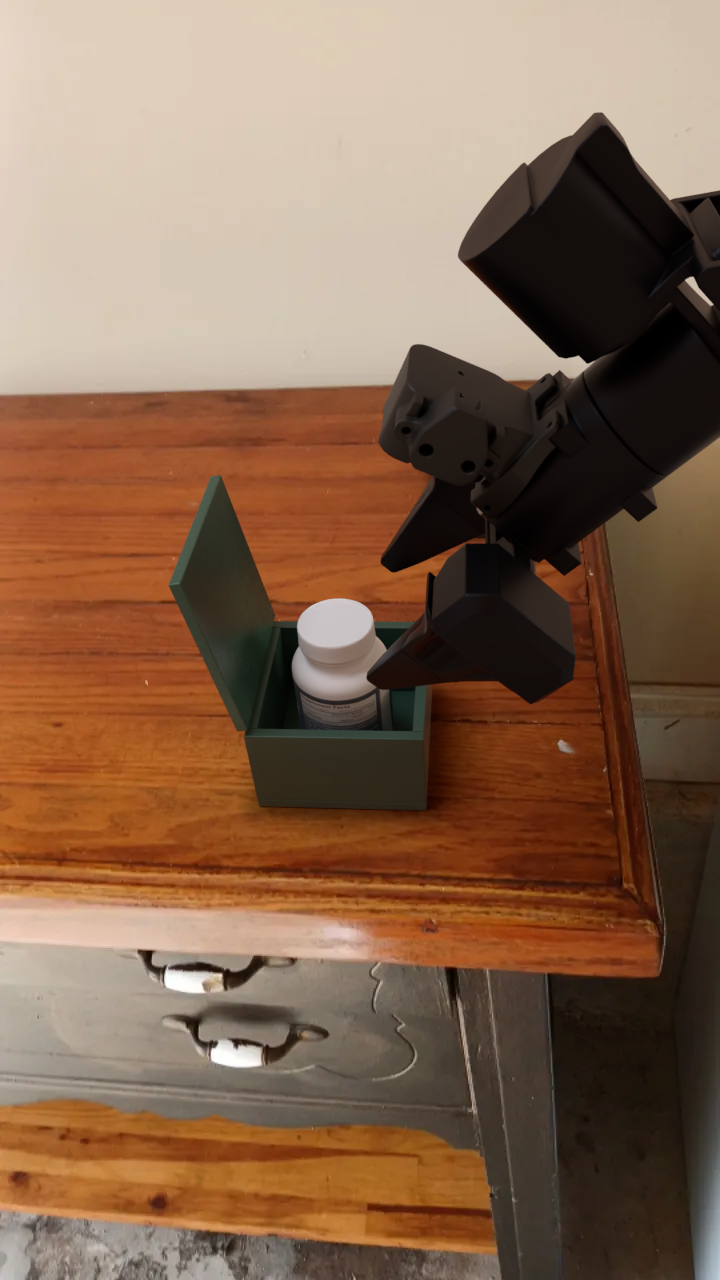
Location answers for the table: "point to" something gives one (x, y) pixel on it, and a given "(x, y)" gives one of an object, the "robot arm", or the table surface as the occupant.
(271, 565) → the table surface
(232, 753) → the table surface
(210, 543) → the lid
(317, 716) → the pill bottle
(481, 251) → the robot arm
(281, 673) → the green square box
